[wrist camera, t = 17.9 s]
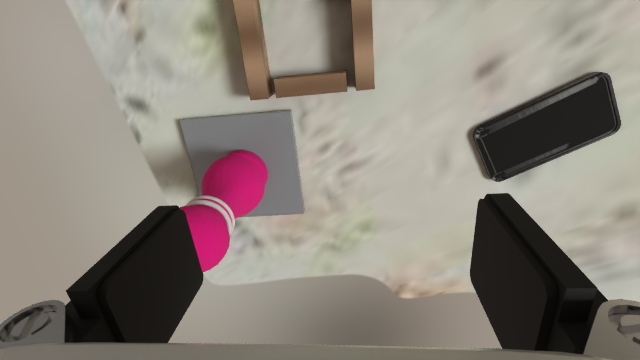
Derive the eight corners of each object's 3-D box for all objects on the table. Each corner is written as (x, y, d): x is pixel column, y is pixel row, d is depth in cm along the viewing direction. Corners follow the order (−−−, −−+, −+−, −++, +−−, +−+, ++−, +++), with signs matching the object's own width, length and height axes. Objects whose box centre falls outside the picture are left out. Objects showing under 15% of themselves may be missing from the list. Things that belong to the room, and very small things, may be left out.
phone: (472, 131, 40) (608, 68, 36) (469, 129, 41) (601, 67, 37) (493, 185, 42) (623, 131, 39) (490, 181, 43) (616, 128, 40)
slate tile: (183, 119, 43) (179, 120, 42) (291, 109, 41) (290, 111, 40) (208, 215, 48) (205, 219, 47) (304, 210, 46) (303, 213, 46)
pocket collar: (234, -38, 35) (225, -45, 33) (367, -56, 34) (369, -65, 31) (256, 96, 41) (250, 100, 38) (372, 85, 39) (374, 89, 37)
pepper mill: (272, 199, 45) (221, 309, 27) (219, 194, 45) (133, 301, 27) (271, 147, 42) (214, 232, 24) (215, 143, 42) (116, 224, 24)
